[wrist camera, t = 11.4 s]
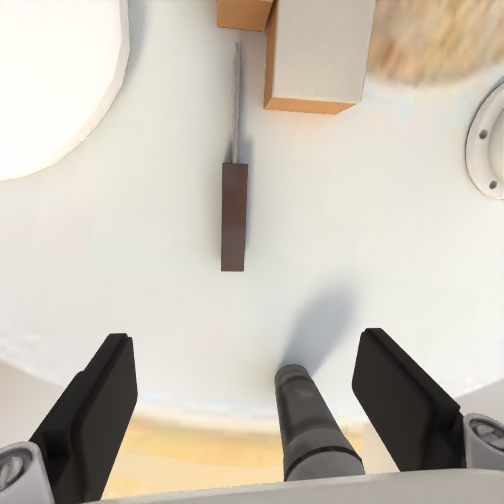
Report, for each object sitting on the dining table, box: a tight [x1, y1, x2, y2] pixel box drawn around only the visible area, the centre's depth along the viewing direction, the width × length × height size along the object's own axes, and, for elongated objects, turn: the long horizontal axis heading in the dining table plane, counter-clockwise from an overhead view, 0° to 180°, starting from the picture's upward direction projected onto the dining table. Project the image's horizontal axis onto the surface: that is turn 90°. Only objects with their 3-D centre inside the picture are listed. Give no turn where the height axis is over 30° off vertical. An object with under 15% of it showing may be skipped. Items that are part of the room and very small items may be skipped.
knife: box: [221, 42, 248, 271], centre depth 25 cm, size 2×19×3 cm, turn 177°
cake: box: [264, 0, 376, 114], centre depth 22 cm, size 7×8×5 cm
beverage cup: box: [275, 365, 366, 482], centre depth 25 cm, size 7×7×20 cm
